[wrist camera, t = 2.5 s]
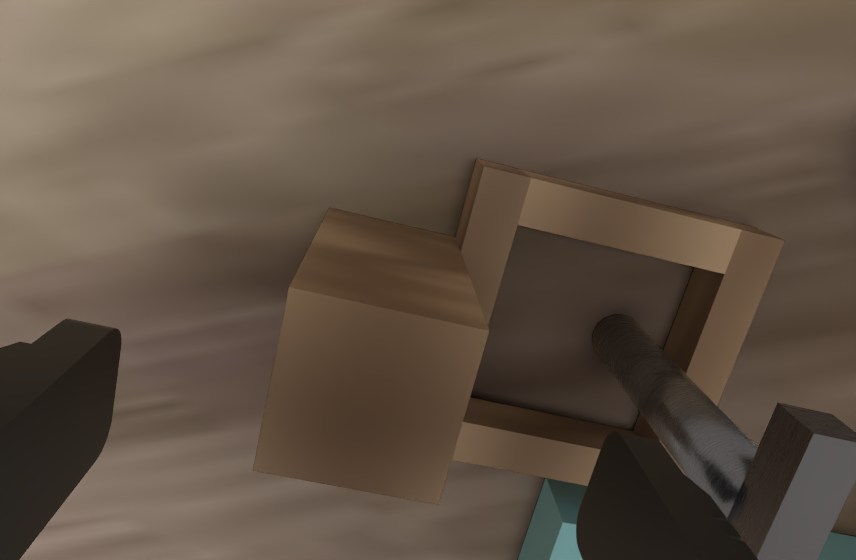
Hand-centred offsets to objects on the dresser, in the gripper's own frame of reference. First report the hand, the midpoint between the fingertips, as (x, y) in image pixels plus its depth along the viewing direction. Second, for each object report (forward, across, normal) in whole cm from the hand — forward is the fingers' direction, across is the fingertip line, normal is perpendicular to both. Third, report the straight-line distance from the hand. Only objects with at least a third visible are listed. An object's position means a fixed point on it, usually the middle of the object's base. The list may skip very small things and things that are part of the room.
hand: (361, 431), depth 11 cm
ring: (+8, -4, 0) cm, 9 cm away
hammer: (+8, -7, 0) cm, 11 cm away
